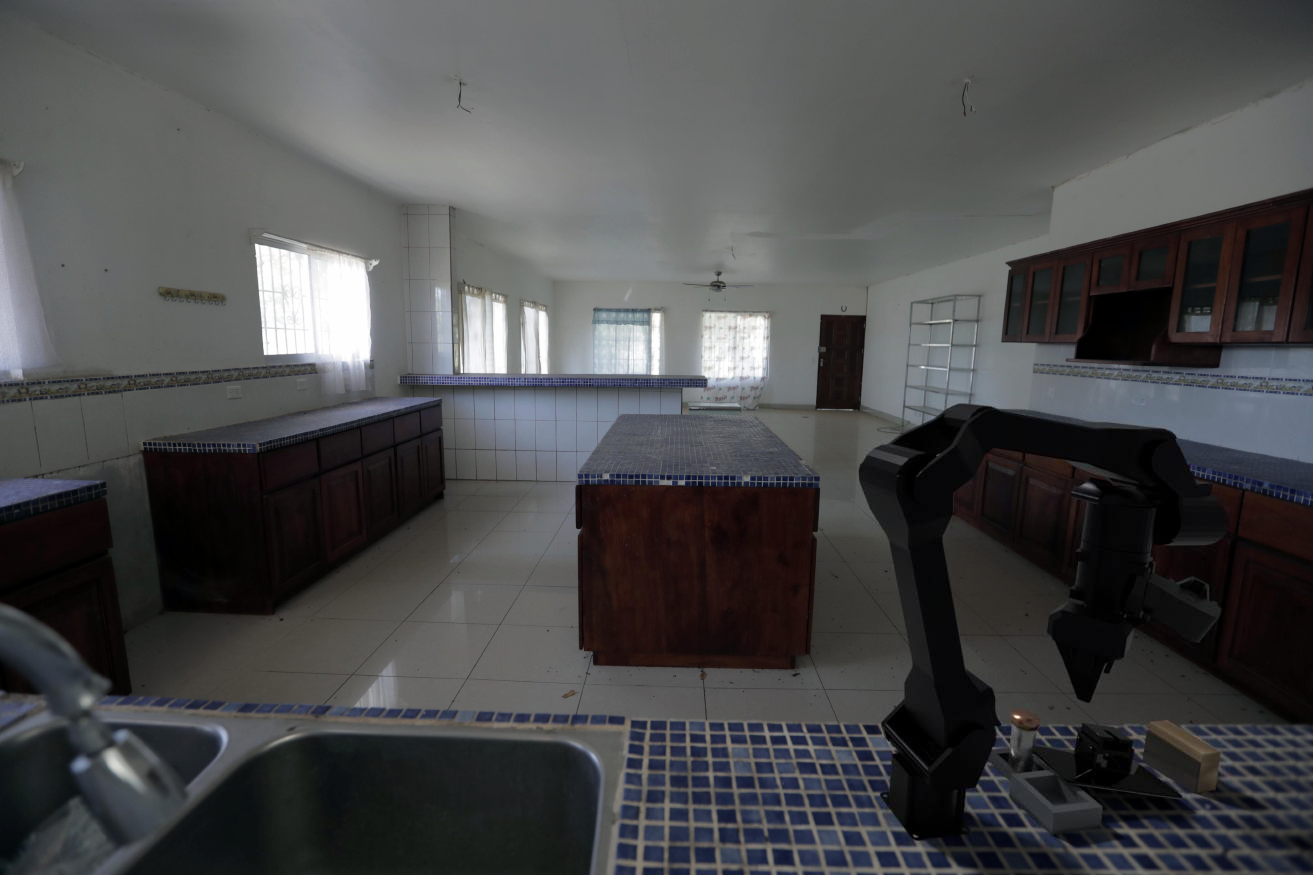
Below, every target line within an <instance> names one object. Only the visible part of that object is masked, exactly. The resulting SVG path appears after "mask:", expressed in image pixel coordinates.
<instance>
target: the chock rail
mask: <svg viewBox="0 0 1313 875" xmlns="http://www.w3.org/2000/svg"><path fill="white" fill-rule="evenodd" d="M1143 747H1144V748H1143V754H1142V762H1143V763H1144V764H1146V765H1147V766H1149V767H1150V768H1152V769H1153V770H1155V771H1156V772H1158V773H1160V774H1162V775H1163V776H1165V777H1166V778H1169V779H1170V780H1172V782H1175V783H1176V784H1178V785H1180V786H1181V787H1183V788H1184V789H1187V790H1188V791H1190V792H1192V793H1193V794H1197V793H1198V794H1199V793H1204V792H1205V791H1206V792H1211V790H1212V791H1216V787H1217V781H1218V774H1219V767H1220V760H1221V756H1222V751H1220V750H1219V749H1217V748H1215V747H1213V746H1211V745H1210V744H1208V743H1206V742H1205V741H1204V740H1202V739H1200V738H1198V737H1197V736H1196V735H1195V736H1194V735H1193V734H1192V733H1190V732H1188V731H1186V729H1183V728H1182V727H1179V726H1177V724H1175V723H1173V722H1171V721H1169V720H1168V719H1165V720H1154V721H1149V724H1148V729H1146V733H1145V738H1144V746H1143Z"/></svg>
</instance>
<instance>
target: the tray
mask: <svg viewBox="0 0 1313 875" xmlns="http://www.w3.org/2000/svg"><path fill="white" fill-rule="evenodd" d="M1009 783H1010V784H1009V793H1008V795H1009V797H1010V798H1011V799H1013V801H1014V802H1016V804H1017V805H1019V806H1020V807H1021V809H1023V811H1025V813H1027V814H1028V815H1029V816H1030V817H1031V818H1032V819H1033V820H1034V821H1035V822H1036V823H1037V824H1038V825H1039V826H1041V827H1042V828H1043V830H1045V831H1046V832H1047V833H1049V834H1050V836H1055V835H1060V834H1065V833H1072V832H1078V831H1084V830H1091V829H1097V828H1101V826H1102V818H1103V817H1102V816H1103V809H1104V808H1103V805H1101V804H1100V803H1099V802H1098V801H1096V800H1095V799H1094V798H1093V797H1092V796H1090V795H1089V794H1088V793H1087V792H1085V791H1084V790H1083V789H1082V788H1080V787H1079V785H1074V784H1068V783H1066V782H1064V781H1063V780H1062V779H1061V778H1060V777H1059V776H1058V775H1057V774H1056V773H1055V772H1053V771H1052V770H1043V771H1035V770H1033V771H1032V772H1026V773H1017V774H1011V781H1009Z"/></svg>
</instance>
